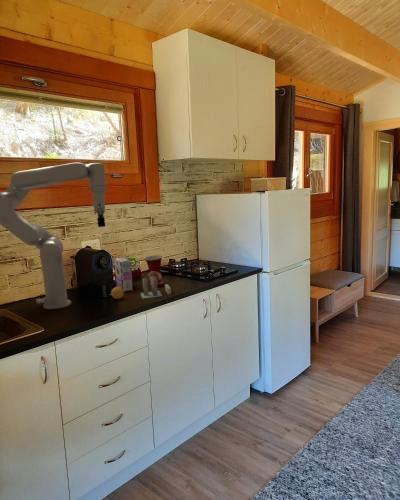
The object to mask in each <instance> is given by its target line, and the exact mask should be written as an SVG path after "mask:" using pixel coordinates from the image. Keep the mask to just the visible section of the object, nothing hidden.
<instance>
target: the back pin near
mask: <svg viewBox="0 0 400 500" xmlns="http://www.w3.org/2000/svg"><path fill="white" fill-rule="evenodd" d="M152 289H153V296H157V295H158V291H159V290H158V285H157V279H152Z"/></svg>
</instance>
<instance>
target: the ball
mask: <svg viewBox="0 0 400 500" xmlns="http://www.w3.org/2000/svg"><path fill="white" fill-rule="evenodd" d="M110 294H111V297H112V298H114V299H116V300H119V299H121V298H122V297H124V294H125V293H124V291H123V289H122V288H120V287H117V286H115V287H114V288H112V289H111V293H110Z"/></svg>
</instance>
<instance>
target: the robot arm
mask: <svg viewBox="0 0 400 500" xmlns="http://www.w3.org/2000/svg"><path fill="white" fill-rule="evenodd" d="M105 172H106V171H105V165H104V164H103V163H101V162H91V163H88V164H87V163H85V164H84V163H83V162H80V161H79V162H76V161H75V162H69V163H64V164H59V165H54V166H53V165H52V166H45V167H40V168H33V169H28V170H27V169H26V170H21V171H16V172H13V173H12V174H11V176H10V179H9V180H10V184H9V186H8V187H7V188H6V189H5V191H3V192H0V226H2V227H4V228H5V229H6V230H7V231H8V232H10V234H13V236H15V237H16V238H17V239H19V240H20V241H22V242H23V243H24V244H25V245H28V246H34V247H36V248H37V249H38V250H39V258H40V262H41V263H40V264H41V270H42V276H43V287H44V293H45V297H43V298H36V301H35V302H36V304H39V305H40V304H42V305H43V306H42V308H44V309H45V310H55V309H56V310H57V309H63V308H66V307H68V306H70V305H71V304H72V300H70V299H68V293H67V284H66V283H67V282H66V274H65V267H64V266H65V265H64V259H63V252H64V244H63V242H62V241H61V240H60V238H58V237H56V236H55V235H53V234H52V233H51V232H50V231H48V230H47V229H46V228H44V227H43V226H42V225H40V224H37V223H32V222H30V221H28V220H27V219H25V217H24V216H23V215H20V214H18V213H17V212H16V211H15V210H16V209H17V208H18V207H19V206H20V205H21V204H22V203H23V201H24V199H25V198H26V197H27V196H28V194H29V192H30V191H32V190H35V189H39V188H45V187H46V188H47V187H51V186H54V185H57V184H60V183H61V184H62V183H65V182H71V181H76V180H77V181H78V180H79V181H82V180H88V183H89V192H90V194H92V204H93V213H94V215H97V227H98V228H102V227H103V228H104V227H106V221H105V219H106V218H105V215H104V214H106V199H105V193H107V182H106V173H105Z"/></svg>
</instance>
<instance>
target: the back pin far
mask: <svg viewBox="0 0 400 500" xmlns="http://www.w3.org/2000/svg"><path fill="white" fill-rule="evenodd" d="M150 278H151V284H150V289H151V291H150V292H152V293H153V289H152V279H155V277H150Z"/></svg>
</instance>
